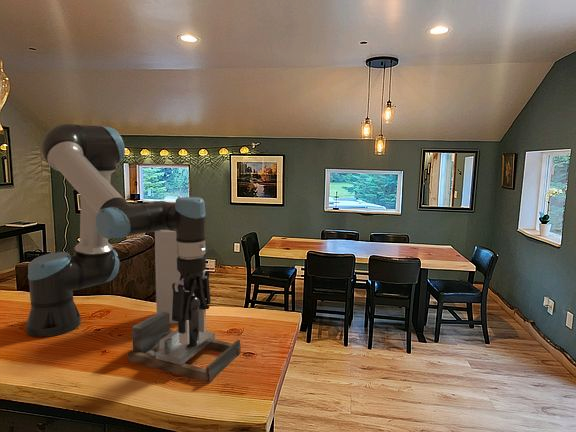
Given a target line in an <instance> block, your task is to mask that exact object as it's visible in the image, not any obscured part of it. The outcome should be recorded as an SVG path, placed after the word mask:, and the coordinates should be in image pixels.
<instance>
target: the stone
mask: <svg viewBox="0 0 576 432" xmlns="http://www.w3.org/2000/svg"><path fill="white" fill-rule="evenodd" d="M169 334H170V333H165V334H163V336H162V337H161V338H160V339H159V340H158V341H157V342H156V343H155V345H154V346H153V347H152V349H151V350H150V351H148V352H146V353H145V354H149V355H153V356H156V352H157V351H159V350H160V340H161V339H162V338H164V337H166V336H167V335H169Z"/></svg>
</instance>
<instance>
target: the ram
mask: <svg viewBox="0 0 576 432" xmlns="http://www.w3.org/2000/svg"><path fill="white" fill-rule="evenodd" d="M199 306H200V300H199V298H198V297H196V296H191V300H190V305H189V310H188V316H187V320H189V344H188V345H187V344H182V343H179V332H178V328H176V329H175V330H173V332H172V333H170V334H169V335H167V336H166V337H164V338H162V339H161V340H160V350H159V351H157V352H156V359H158V360H162V361H166V362H170V363H174V364H178V365H182V364H186V362H187V361H189V360H190V359H191V358H193V356H195V355H196V354H198V353H199V352H200V351H202V349H205V348H204V347H205V346H206V345H208V344H209V343H210V342H211V341H213V340H216V333H215V332H212V331H207V330H206V332H204V333H203V332H199Z"/></svg>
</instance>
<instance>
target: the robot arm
mask: <svg viewBox="0 0 576 432" xmlns="http://www.w3.org/2000/svg"><path fill="white" fill-rule="evenodd" d="M124 143H125V142H124V140H123V137H122V136H121V134H120V133H119V132H118V131H117V130H116V129H114V128H113V127H109V126H103V125H90V124H89V125H88V124H74V123H73V124H72V123H61V124H58V125H56V126H54V127H52V128H50V129H48V131H47V132H46V133H45V134H44V136H43V138H42V141H41V145H40V146H41V147H40V148H41V154H42V157H43V159H44V161H45V162H46V163H47V164H48V165H49V167H51V169H53V170H54V171H57V172H60V173H61V174H62V176H63V177H64V178H65V179H66V180H67V182H68V183H69V184H70V185H71V187H73V188H74V189H75V190H76V191H77V192H78V194H79V195H80V215H79V217H80V220H79V221H80V222H79V228H80V229H79V242H78V243H77V244H76V245H75V246H74V253H73V254H71V253H69V252H66V251H57V252H51V253H46V254H43V255H40V256H37V257H35V258H33V260H31V261H30V262H29V264H28V265H27V266H28V272H27V273H28V274H27V279H28V285H29V297H30V299H29V300H30V310H29V314H28V318H27V321H26V324H25V330H26V334H27V335H29V336H31V337H35V338H37V337H38V338H45V337H46V338H47V337H53V336H54V337H55V336H58V335H63V334H65V333H69V332H72V331H73V330H75V329H77V328H78V327H79V326H80V325H81V323H82V321H81V320H82V319H81V318H82V317H81V314H80V312H79V310H78V307H77V306H76V303H75V302H74V291H77V290H81V289H85V288H90V287H94V286H97V285H103V284H105V283H107V282H111V281H112V280H113V279H115V278H116V277H117V275H118V273H119V269H120V258H119V255H118V253H117V251H116V250H115V249H114V248H113V245H112V244H111V243H109V239H120V238H125V237H131V236H134V235H135V236H136V235H142V234H147V233H153V232H154V233H155V231H160V230H171V231H176V254H177V255H178V257H177V270H178V271H179V272H180V274H181V275H180V280H179V282H178V283H177V284H176V283H173V284H172V289H173V307H172V321H177V322H178V324H177V329H178V332H179V343H182V344H187V345H188V344H189V320H187V316H188V310H189V305H190V300H191V296H192V295H193V293H194V296H196V297H198V298H199V300H200V306H199V332H203V333H204V332H206V331H207V330H206V328H207V327H206V326H207V325H206V324H207V323H206V316H207V315H206V311H207V310H209V309H210V304H211V289H210V279H209V278H210V271H209V270H206V268H207V257H206V256H205V254H206V252H207V251H206V216H207V213H206V204H205V200H204V199H203V198H202V197H199V196H195V197H194V196H182V197H178V198H176V200H175V202H170V201H169V202H168V201H165V200H158V201H157V200H154V201H151V202H149V203H145V204H144V203H143V204H134V205H132V204H130V203H129V202H128V201H127V200H126V199H125V198H124V197H123V196H122V195H121V194H120V193H119V191H117V190H116V189H115V187H114V186H113V185H112V184H111V178H112V176H111V175H112V174H113V173H114V172H116V170H117V164H119V163H122V162H123V159H124V158H125V153H126V151H125V150H126V148H125V144H124ZM186 291H189V292H186Z"/></svg>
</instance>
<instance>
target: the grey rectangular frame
mask: <svg viewBox="0 0 576 432" xmlns="http://www.w3.org/2000/svg"><path fill="white" fill-rule="evenodd" d="M170 325H171V324H170V318H169V313H167V312H162V311H161V312H159V313H157V312H156V313H155V314H154V315H151V316H150V317H148V318H146V319H144V320H142V321H141V322H138V323H137V324H135V325H133V326H132V327H131V335H132V349H131V350H130V351H128V352H127V362H130V363H133V364H136V365H141V366H145V367H147V368H153V369H156V370H159V371H164V372H166V373H167V372H168V373H170V374H174V375H178V376H181V377H185V378H189V379H193V380H196V381H200V382H205V383H207V384H210V383H212V381H213V380H214V379H215V378H217V376H218V375H219V374H220V373H221V372H222V371H223V370H224V369H225V368H227V367H228V366H229V364H231V363H232V362H233V361H234V360H235V359H236V358H237V357H238V356H240V355H241V349H242V347H241V340H240V339H237V340H236V341H234V342H233V343H231V342H227V341H222V340H218V339H214V340H213V341H211V342H210V343H209V344H208V345H206V346H205V347H204V348H203V349H207V350H210V351H214V352H220V353H221V354H220V355H218V356H217V357H216V358H215V359H214V360H213V361H212V362H211V363H209V364H208V365H207V366H206V367H205V368H204V367H199V366H196V365H191V364H188V363H184V364H182V365H178V364H174V363H170V362H166V361H162V360H158V359H156V356H153V355H149V354H145V353H146V352H148V351H150V350H151V349H152V347H153V346H154V345H155V343H156V342H157V341H158V340H159V339H160V338H161V337H162V336H163V334H165V333H172V332H173V331H174V330H172V329H171V326H170Z"/></svg>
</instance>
